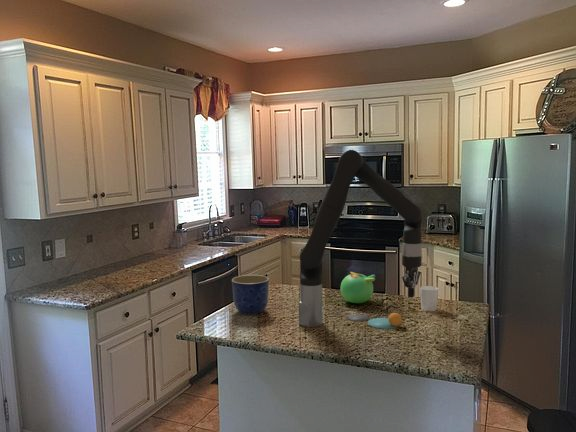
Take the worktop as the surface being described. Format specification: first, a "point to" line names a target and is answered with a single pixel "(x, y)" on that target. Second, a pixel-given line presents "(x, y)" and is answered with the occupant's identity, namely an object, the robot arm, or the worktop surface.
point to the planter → (250, 293)
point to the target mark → (381, 323)
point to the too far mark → (358, 318)
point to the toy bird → (357, 287)
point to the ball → (395, 319)
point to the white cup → (429, 298)
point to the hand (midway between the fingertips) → (411, 296)
